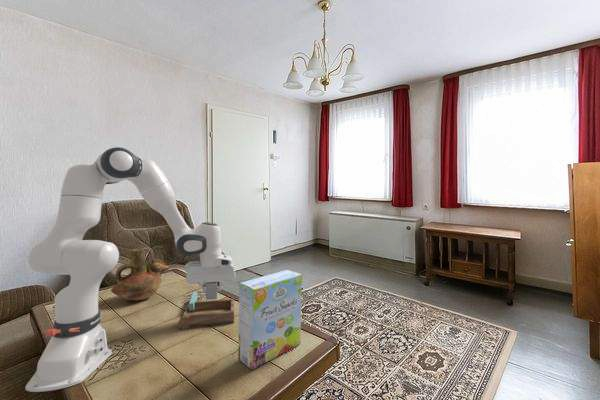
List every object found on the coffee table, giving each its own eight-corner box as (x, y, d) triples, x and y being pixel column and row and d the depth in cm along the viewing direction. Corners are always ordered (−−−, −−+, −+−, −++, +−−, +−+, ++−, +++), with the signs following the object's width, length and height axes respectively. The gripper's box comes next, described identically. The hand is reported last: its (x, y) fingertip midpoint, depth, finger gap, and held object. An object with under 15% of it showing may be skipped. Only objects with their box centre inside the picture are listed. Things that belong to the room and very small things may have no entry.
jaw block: (216, 299, 121) (216, 281, 120) (205, 300, 120) (205, 282, 119) (217, 294, 125) (217, 278, 125) (206, 295, 124) (206, 278, 124)
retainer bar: (193, 310, 126) (192, 303, 126) (189, 310, 126) (189, 303, 126) (197, 298, 140) (197, 291, 140) (193, 298, 139) (193, 292, 139)
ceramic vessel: (173, 298, 142) (171, 249, 141) (111, 310, 129) (109, 256, 127) (168, 288, 157) (166, 243, 156) (111, 298, 143) (110, 248, 142)
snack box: (253, 372, 86) (252, 289, 85) (237, 360, 92) (236, 282, 91) (302, 344, 102) (302, 273, 100) (286, 335, 108) (285, 268, 106)
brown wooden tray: (233, 324, 116) (233, 313, 116) (178, 330, 111) (178, 319, 111) (234, 296, 145) (234, 288, 144) (190, 300, 140) (190, 291, 140)
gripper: (183, 263, 116) (184, 296, 117) (235, 260, 121) (235, 292, 121) (186, 259, 122) (187, 291, 123) (235, 256, 127) (235, 287, 128)
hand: (211, 291), depth 122 cm, fingers closed on jaw block, 4 cm apart
